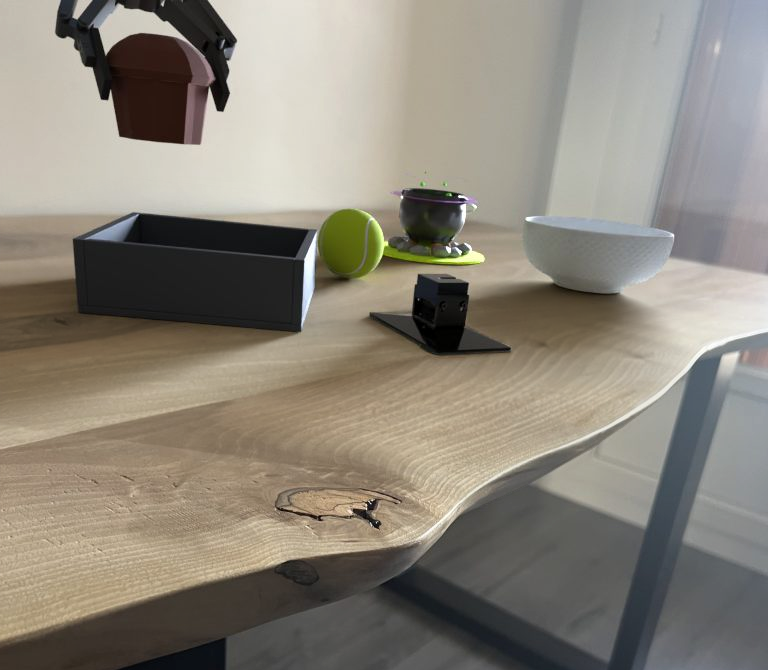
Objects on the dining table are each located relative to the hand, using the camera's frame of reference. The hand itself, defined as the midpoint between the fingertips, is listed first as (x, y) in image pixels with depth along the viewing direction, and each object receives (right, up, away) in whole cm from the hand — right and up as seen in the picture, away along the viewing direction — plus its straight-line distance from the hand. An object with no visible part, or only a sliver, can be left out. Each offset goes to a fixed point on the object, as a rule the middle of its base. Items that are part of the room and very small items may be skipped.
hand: (167, 96), depth 86 cm
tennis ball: (+19, -19, +2) cm, 27 cm away
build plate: (+27, -29, -16) cm, 43 cm away
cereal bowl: (+47, -17, +11) cm, 51 cm away
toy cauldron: (+29, -10, +22) cm, 38 cm away
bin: (+7, -25, -13) cm, 29 cm away
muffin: (-2, -3, +4) cm, 5 cm away
